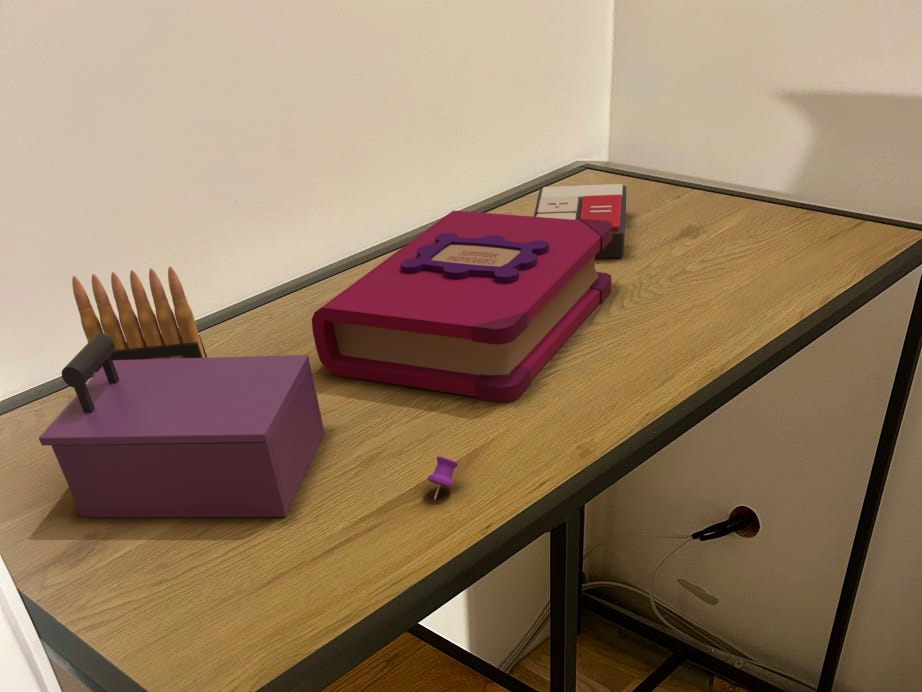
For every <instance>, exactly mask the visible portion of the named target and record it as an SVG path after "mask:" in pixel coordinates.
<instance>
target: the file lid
mask: <svg viewBox="0 0 922 692" xmlns="http://www.w3.org/2000/svg"><path fill="white" fill-rule="evenodd" d="M114 349H115V346H114V342H113V341H112V339H111V338H110V337H108V336H107V335H105V334H97V335H95V336H94V337H93V338H92V339H91V340H90V341H89V342H88V341H87V343H86V344H85V345H84V346H83V347H82V348H81V349H80V351H78V353H77V354H75V356H74V357H73V358H72V359H71V360H70V361H69V362H68V363H67V364H66V365H65V367H63V368H62V369H61V378H62V380H63V382H64V383H65V384H66V385H67V386H69V387H71V388H73V389H74V392H75V394H76V395H75V396H74V397H73V399H72V400H71V401H70V402H69V403H68V405H66V406H65V408H64V409H63V410H62V411H61V412H60V413H59V414H58V415H57V417H56V418H55V419H54V420H53V421H52V422H51V423H50V425H48V427H47V428H46V429H45V430H44V431H43V432H42V434H40V436H38V440H39V443H40V445H41V446H52V445H108V444H173V443H238V442H267V440H268V438H269V437H270V435H271V433H272V431H273V429H274V427H275V425H276V424H277V422H278V420H279V418H280V416H281V414H282V413H283V411H284V409H285V407H286V405H287V403H288V401H289V400H290V398H291V396H292V394H293V392H294V390H295V388H296V387H297V385H298V383H299V381H300V379H301V377H302V375H303V374H304V372H305V370H306V368H307V366H308V364H309V363H311V360H310V356H309V354H289V355H287V354H286V355H285V354H284V355H255V356H254V355H252V356H221V357H207V358H178V359H142V360H112V357H111V354H112V353H113V352H114ZM101 365H102V367H101V369H100V370H99V371H98V372H97V373H96V371H97V370H98V368H99V367H100V366H101Z"/></svg>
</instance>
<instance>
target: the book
mask: <svg viewBox="0 0 922 692" xmlns="http://www.w3.org/2000/svg"><path fill="white" fill-rule="evenodd" d="M611 241H612V222H609V221H605V220H591V219H580V220H572V219H559V218H545V217H534V216H533V215H532V216H531V215H517V214H505V213H493V212H492V213H490V212H480V211H479V212H477V211H464V210H452V211H451V212H449V213H447V214H446V215H445V216H443V217H442V218H440V219H439V220H438V221H436V222H435V223H433V225H431V226H430V227H428V228H427V229H426V230H424V231H423V232H421V233H420V234H419V235H418V236H416V237H415V238H413V239H412V240H411V241H409V242H408V243H406V244H405V245H404V246H402V247H401V248H400V249H398V250H397V251H396V252H394V253H393V254H392V255H391V256H389V257H388V258H386V259H385V260H384V261H382V262H380V263H379V264H378V265H377V266H376V267H374V268H373V269H371V270H370V271H369V272H367V273H366V274H364V275H363V276H361V278H358V280H356V281H355V282H353V283H352V284H351V285H349V286H348V287H346V289H344V290H343V291H341V292H340V293H339V294H337V295H336V296H334V297H333V298H332V299H330V300H329V301H327V302H326V303H324V305H322V306H320V307H319V308H318V309H317V310H315V311H314V313H313V315H312V317H311V329H312V335H313V340H314V345H315V349H316V353H317V355H318V360H319V361H320V363H321V365H323V367H324V368H325V369H326V370H327V371H329V372H330V373H331V374H332V375H334V376H339V377H340V376H341V377H347V378H353V379H360V380H366V381H372V382H379V383H385V384H392V385H397V386H405V387H410V388H418V389H424V390H430V391H437V392H444V393H450V394H456V395H462V396H469V397H476V400H483V401H489V402H495V403H511V402H514V401H516V400H519V399H520V398H521V396H522V395H523V394H524V393H525V392H526V391H527V390H528V389H529V387H530V386H531V385H532V379H534V377H536V376H537V374H538V373H539V372H540V371H541V370H542V368H543V367H544V366H545V365H546V364H547V363H548V362H549V361H550V360H551V358H552V357H553V356H554V355H555V354H556V353H557V352H558V351H559V349H560V348H561V347H562V346H563V345H564V343H566V341H567V340H569V338H570V337H571V336H572V334H574V333H575V331H576V330H577V329H578V328H579V327H580V326H581V324H582V323H583V322H584V321H585V320H586V319H587V318H588V316H589V315H590V314H592V312H593V311H594V310H595V309H596V308H597V306H599V304H602V303H603V302H604V301H605V300H606V299H607V298H608V297H609V295H610V294H611V293H612V274H609V273H607V272H603V271H602V272H600V271H597V270H596V260H595V255H596V254H597V253H598V252H599V251H602V250H603V249H604V248H605V247H606V246H607V245H608V244H609V243H610V242H611Z"/></svg>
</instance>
